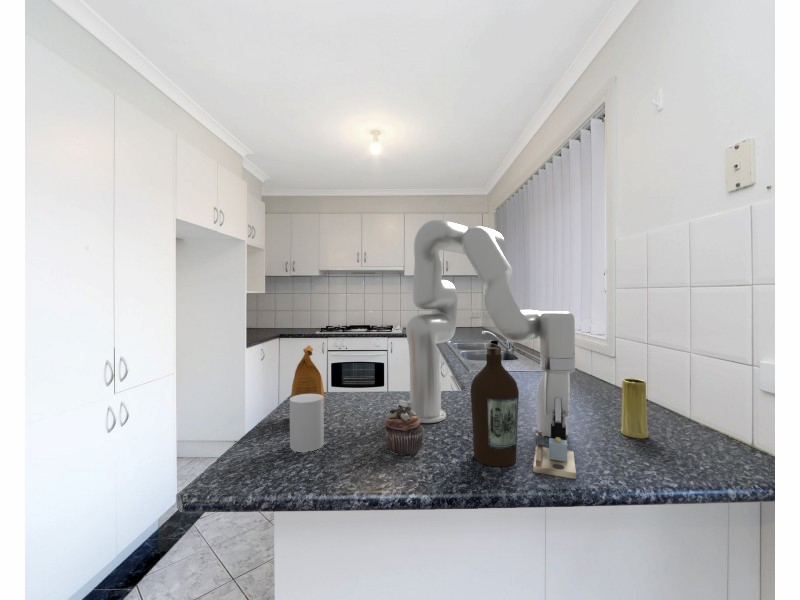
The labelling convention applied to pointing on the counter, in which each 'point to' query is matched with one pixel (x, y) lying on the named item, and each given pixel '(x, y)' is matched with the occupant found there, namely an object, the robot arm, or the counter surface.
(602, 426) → the counter surface
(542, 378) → the milk bottle
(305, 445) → the cup
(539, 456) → the board
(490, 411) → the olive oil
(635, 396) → the vase
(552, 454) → the blue block with knob
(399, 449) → the cupcake
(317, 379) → the coffee package
